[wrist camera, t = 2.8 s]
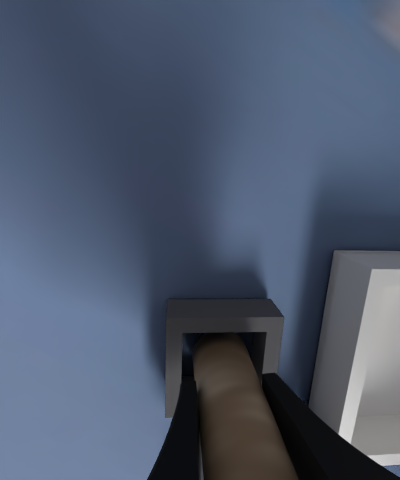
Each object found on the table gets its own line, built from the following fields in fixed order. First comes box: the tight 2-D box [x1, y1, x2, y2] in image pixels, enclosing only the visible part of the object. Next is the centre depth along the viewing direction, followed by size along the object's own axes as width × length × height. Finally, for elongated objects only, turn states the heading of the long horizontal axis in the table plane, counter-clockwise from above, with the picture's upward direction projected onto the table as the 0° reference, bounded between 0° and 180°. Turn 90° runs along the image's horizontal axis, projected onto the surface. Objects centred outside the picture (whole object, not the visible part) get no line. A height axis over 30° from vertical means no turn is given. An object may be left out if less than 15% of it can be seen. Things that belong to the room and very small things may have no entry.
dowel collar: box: [165, 299, 284, 418], centre depth 15 cm, size 6×6×2 cm
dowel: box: [193, 332, 299, 480], centre depth 11 cm, size 3×3×8 cm
